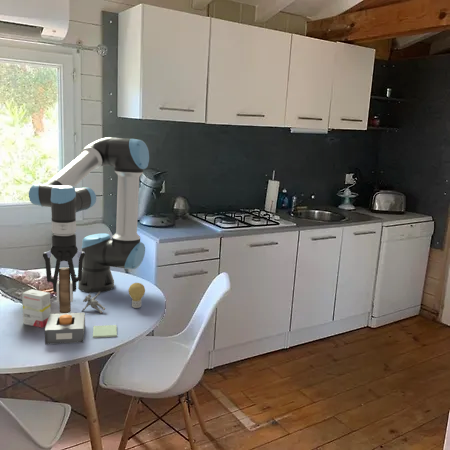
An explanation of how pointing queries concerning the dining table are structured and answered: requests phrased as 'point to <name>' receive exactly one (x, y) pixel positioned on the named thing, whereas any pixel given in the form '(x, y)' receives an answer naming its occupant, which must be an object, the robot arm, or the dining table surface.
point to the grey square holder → (65, 329)
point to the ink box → (36, 308)
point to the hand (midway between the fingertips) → (64, 300)
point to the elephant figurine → (93, 303)
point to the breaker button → (65, 319)
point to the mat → (105, 331)
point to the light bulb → (136, 294)
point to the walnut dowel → (64, 290)
